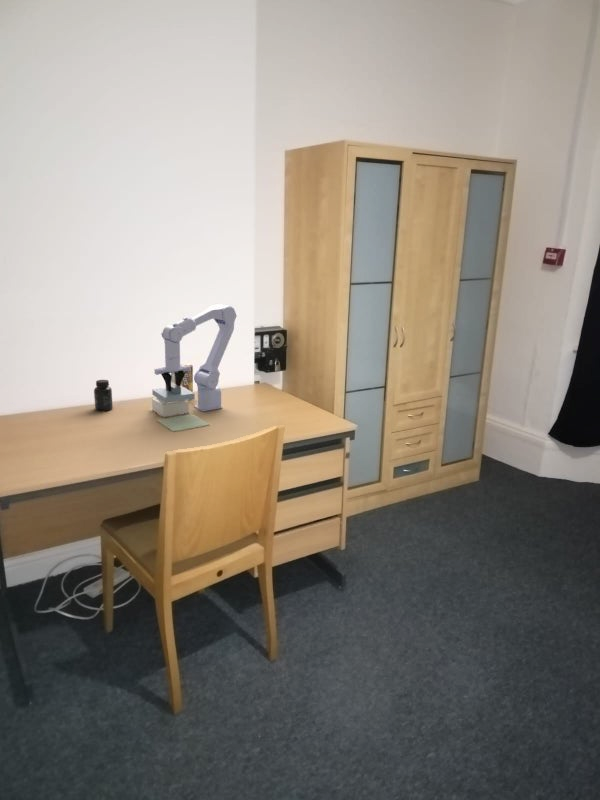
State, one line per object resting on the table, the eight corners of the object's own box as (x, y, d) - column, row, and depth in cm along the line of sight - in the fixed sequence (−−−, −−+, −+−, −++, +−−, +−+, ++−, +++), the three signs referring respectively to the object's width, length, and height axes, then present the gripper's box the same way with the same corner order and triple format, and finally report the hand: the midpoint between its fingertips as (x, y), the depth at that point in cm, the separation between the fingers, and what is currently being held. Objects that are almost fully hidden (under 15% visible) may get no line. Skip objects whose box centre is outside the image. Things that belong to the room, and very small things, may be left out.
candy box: (188, 396, 256) (188, 363, 252) (193, 398, 253) (193, 365, 249) (171, 399, 251) (170, 365, 246) (175, 401, 248) (174, 367, 243)
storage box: (177, 406, 242) (176, 394, 240) (188, 412, 233) (188, 401, 232) (152, 409, 235) (152, 398, 234) (163, 417, 227) (163, 405, 225)
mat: (191, 414, 231) (191, 413, 231) (209, 425, 219) (209, 424, 219) (156, 420, 222) (156, 419, 222) (173, 431, 211) (173, 430, 211)
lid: (181, 390, 236) (181, 379, 235) (194, 398, 227) (194, 387, 225) (152, 394, 229) (152, 383, 228) (164, 403, 220) (164, 391, 218)
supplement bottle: (92, 408, 234) (90, 380, 230) (108, 405, 238) (107, 378, 235) (99, 412, 229) (97, 384, 226) (115, 410, 233) (113, 381, 230)
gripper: (185, 353, 230) (185, 385, 234) (151, 356, 222) (152, 389, 226) (193, 356, 225) (193, 389, 229) (158, 359, 217) (159, 394, 221)
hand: (173, 390), depth 227 cm, fingers closed on lid, 3 cm apart
